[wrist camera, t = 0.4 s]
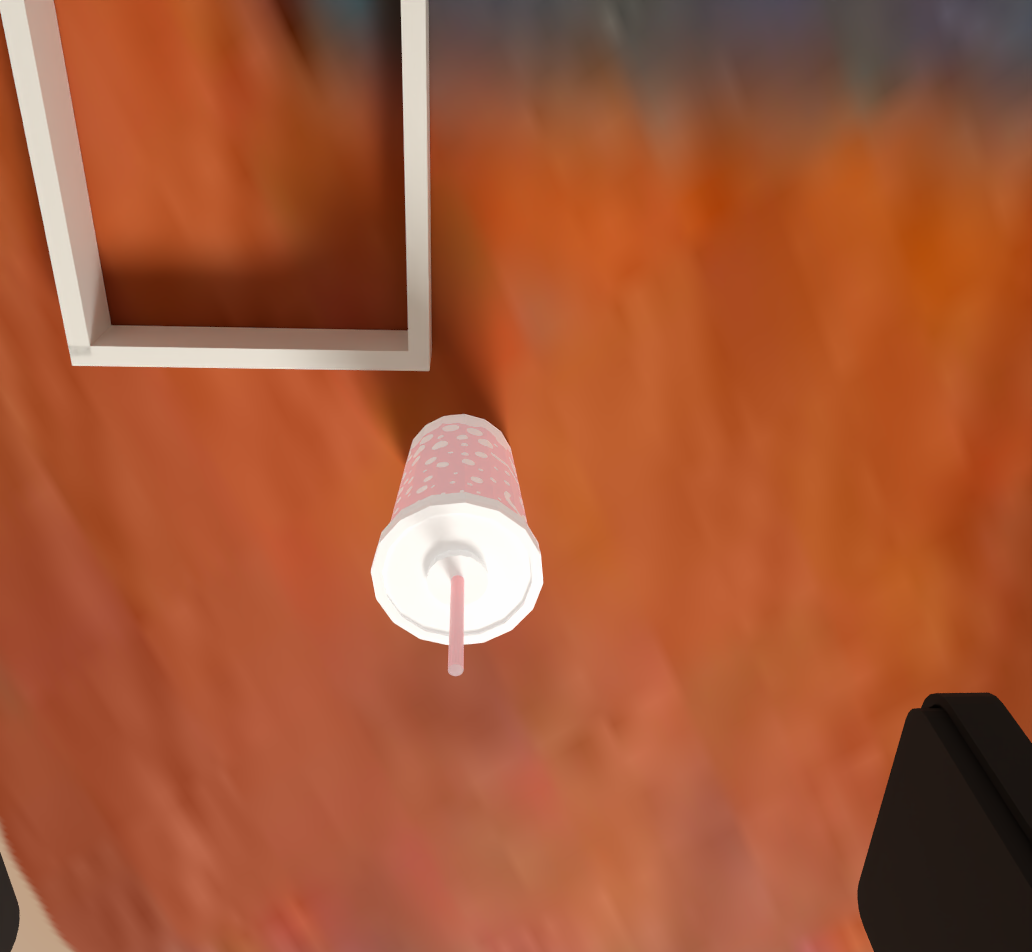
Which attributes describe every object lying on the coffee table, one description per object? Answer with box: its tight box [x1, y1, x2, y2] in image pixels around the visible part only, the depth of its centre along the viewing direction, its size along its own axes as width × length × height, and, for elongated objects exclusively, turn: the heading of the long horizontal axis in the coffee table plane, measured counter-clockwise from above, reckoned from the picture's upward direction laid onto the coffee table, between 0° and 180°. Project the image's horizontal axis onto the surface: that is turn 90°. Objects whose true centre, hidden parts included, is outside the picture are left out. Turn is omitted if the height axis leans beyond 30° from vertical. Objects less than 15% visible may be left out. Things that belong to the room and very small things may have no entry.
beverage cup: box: [371, 414, 543, 676], centre depth 35 cm, size 6×6×14 cm
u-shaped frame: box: [0, 0, 432, 371], centre depth 34 cm, size 13×14×2 cm
